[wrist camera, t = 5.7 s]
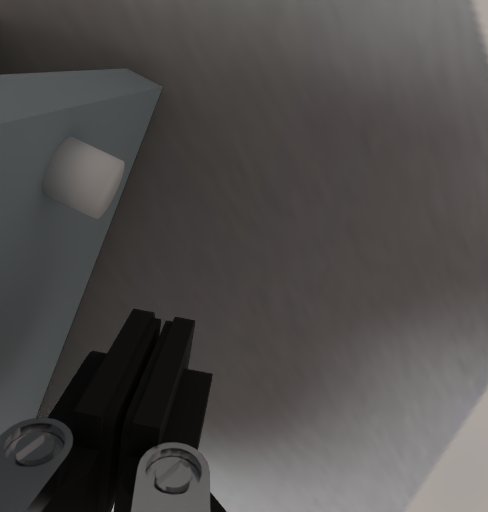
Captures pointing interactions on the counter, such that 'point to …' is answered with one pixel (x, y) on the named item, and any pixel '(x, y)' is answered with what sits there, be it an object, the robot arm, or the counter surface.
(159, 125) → the counter surface
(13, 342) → the door
